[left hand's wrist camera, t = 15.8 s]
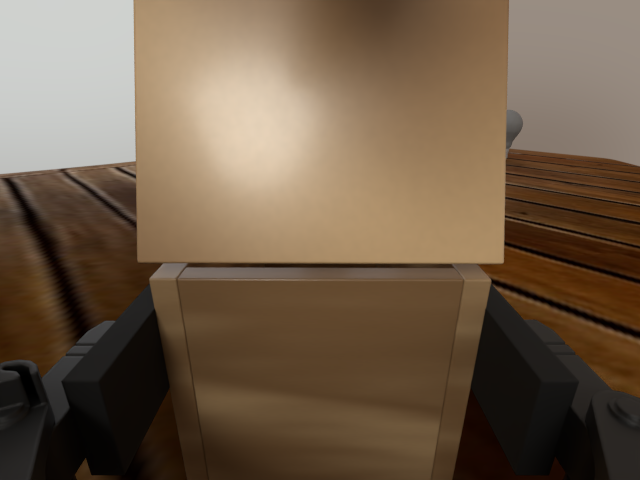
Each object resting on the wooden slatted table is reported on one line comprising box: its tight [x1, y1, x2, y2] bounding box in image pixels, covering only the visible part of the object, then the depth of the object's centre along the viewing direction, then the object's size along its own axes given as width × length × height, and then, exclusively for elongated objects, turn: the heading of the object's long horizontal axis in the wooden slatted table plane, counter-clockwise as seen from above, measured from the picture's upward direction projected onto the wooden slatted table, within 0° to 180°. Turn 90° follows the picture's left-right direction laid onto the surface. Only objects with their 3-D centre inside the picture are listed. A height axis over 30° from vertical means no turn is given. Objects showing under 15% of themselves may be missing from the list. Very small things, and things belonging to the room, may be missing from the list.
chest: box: [149, 263, 491, 480], centre depth 18 cm, size 15×9×9 cm, turn 0°
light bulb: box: [506, 110, 523, 158], centre depth 77 cm, size 6×6×10 cm
